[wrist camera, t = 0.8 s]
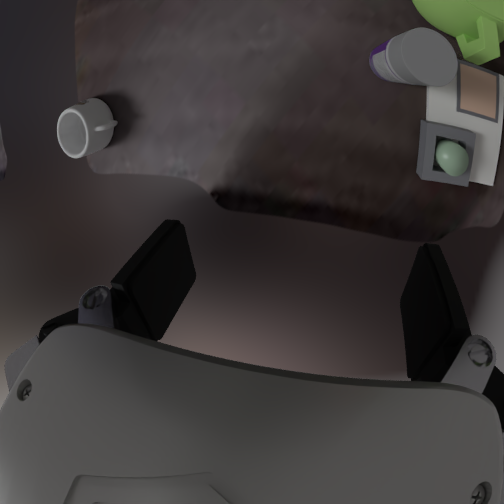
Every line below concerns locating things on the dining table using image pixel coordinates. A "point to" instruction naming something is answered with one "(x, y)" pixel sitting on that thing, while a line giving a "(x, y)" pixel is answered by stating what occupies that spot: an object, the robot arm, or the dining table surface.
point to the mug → (85, 128)
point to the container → (415, 59)
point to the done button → (451, 157)
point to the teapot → (468, 25)
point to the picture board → (464, 124)
